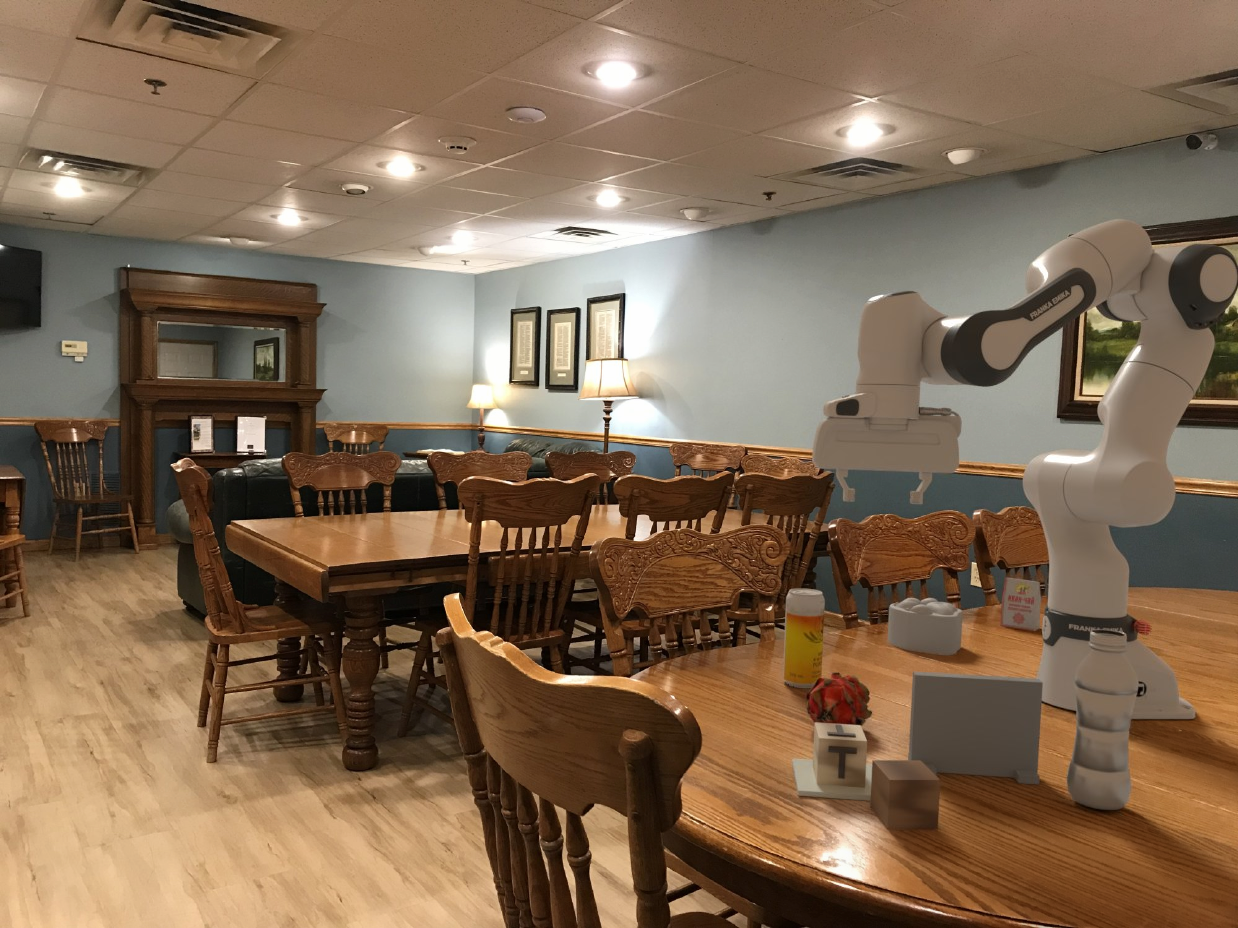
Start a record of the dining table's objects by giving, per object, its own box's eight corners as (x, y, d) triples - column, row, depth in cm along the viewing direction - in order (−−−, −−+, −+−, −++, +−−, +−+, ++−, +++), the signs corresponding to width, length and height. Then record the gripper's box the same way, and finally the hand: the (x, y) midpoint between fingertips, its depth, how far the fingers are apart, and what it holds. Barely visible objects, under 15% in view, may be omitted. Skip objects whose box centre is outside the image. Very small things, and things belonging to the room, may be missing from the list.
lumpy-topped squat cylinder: (953, 657, 172) (955, 610, 172) (881, 646, 179) (883, 601, 178) (963, 645, 181) (965, 600, 181) (894, 635, 188) (896, 592, 187)
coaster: (873, 768, 118) (874, 763, 117) (887, 801, 108) (887, 796, 108) (792, 762, 119) (792, 758, 119) (798, 795, 109) (798, 790, 109)
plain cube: (918, 808, 106) (920, 760, 106) (937, 830, 101) (940, 779, 101) (870, 808, 106) (872, 760, 106) (887, 830, 101) (889, 779, 100)
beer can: (821, 690, 149) (825, 596, 148) (782, 687, 151) (785, 593, 150) (820, 679, 155) (824, 589, 154) (783, 676, 156) (786, 586, 155)
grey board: (1028, 768, 119) (1033, 674, 118) (1041, 784, 114) (1047, 686, 113) (905, 760, 121) (910, 667, 120) (913, 775, 116) (918, 678, 115)
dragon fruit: (856, 729, 136) (827, 767, 126) (810, 688, 139) (778, 722, 129) (891, 691, 132) (865, 727, 122) (843, 649, 135) (813, 681, 125)
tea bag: (1005, 622, 202) (1008, 576, 201) (1039, 628, 198) (1042, 580, 197) (1000, 625, 199) (1003, 578, 198) (1034, 631, 195) (1037, 583, 194)
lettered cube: (858, 769, 115) (860, 723, 115) (865, 788, 110) (867, 739, 109) (812, 766, 116) (814, 720, 116) (817, 784, 110) (819, 736, 110)
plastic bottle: (1053, 793, 111) (1063, 625, 110) (1108, 793, 112) (1119, 626, 111) (1085, 817, 105) (1096, 639, 104) (1143, 817, 106) (1155, 640, 104)
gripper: (956, 408, 137) (951, 503, 138) (813, 404, 139) (809, 497, 140) (967, 408, 131) (962, 507, 132) (817, 403, 133) (813, 501, 134)
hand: (882, 502), depth 136 cm, fingers open, 8 cm apart
